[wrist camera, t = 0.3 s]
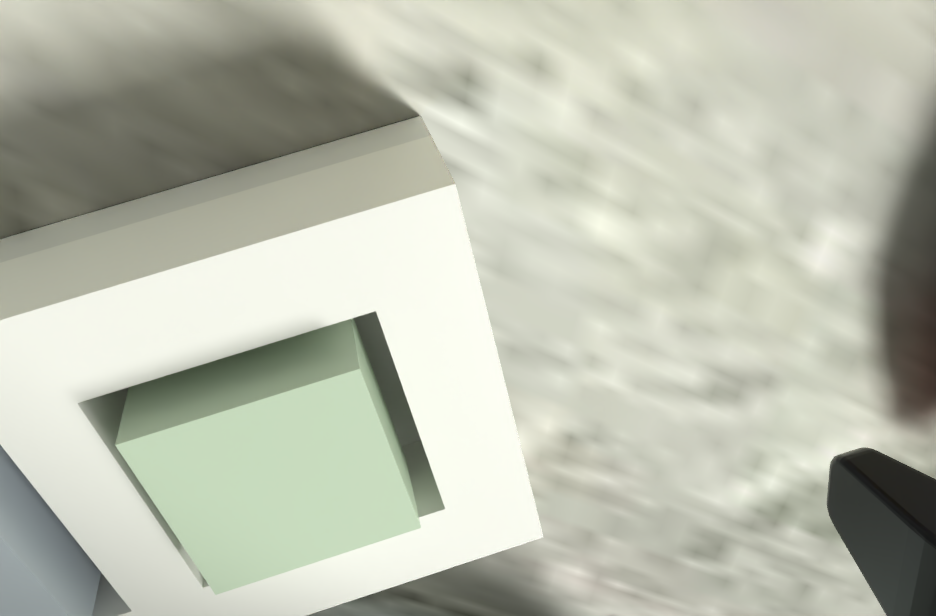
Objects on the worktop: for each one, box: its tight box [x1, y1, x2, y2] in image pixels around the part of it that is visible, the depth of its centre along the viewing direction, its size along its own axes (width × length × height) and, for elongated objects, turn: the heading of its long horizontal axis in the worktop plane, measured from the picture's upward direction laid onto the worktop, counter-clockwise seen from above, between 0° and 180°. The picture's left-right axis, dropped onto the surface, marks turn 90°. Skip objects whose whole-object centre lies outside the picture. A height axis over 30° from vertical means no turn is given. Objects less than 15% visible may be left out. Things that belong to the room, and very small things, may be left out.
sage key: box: [115, 318, 421, 595], centre depth 20 cm, size 6×6×3 cm
